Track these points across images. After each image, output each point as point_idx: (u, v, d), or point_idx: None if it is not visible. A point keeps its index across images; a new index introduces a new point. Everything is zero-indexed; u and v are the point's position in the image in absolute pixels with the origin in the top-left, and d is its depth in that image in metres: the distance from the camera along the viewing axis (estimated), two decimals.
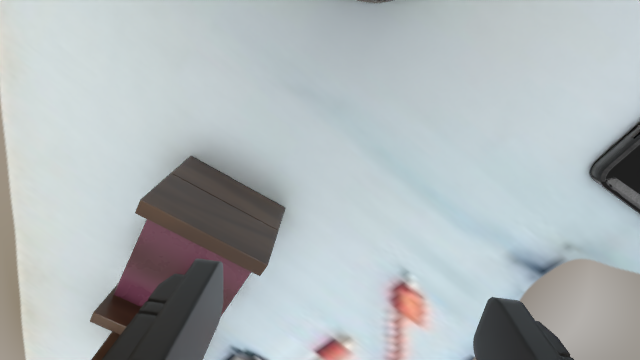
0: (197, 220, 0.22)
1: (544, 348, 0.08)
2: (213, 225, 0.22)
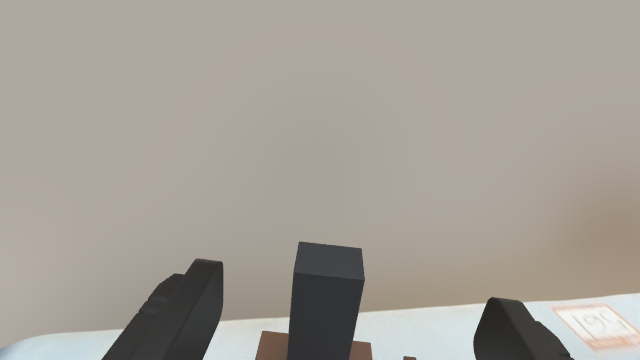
0: None
1: (544, 348, 0.08)
2: None
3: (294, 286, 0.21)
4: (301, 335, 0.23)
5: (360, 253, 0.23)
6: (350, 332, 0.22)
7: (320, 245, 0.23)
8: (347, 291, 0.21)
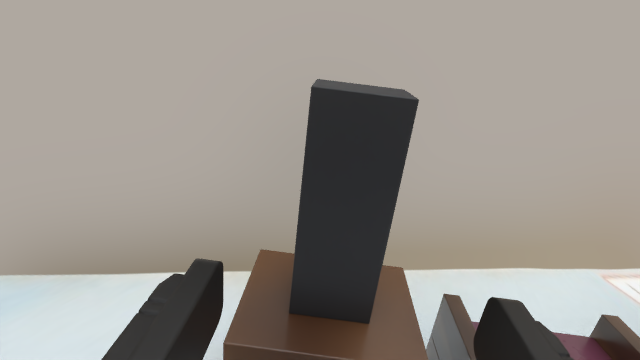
0: None
1: (544, 348, 0.08)
2: None
3: (312, 113, 0.14)
4: (317, 206, 0.16)
5: (405, 91, 0.16)
6: (390, 200, 0.15)
7: (347, 83, 0.16)
8: (390, 122, 0.14)
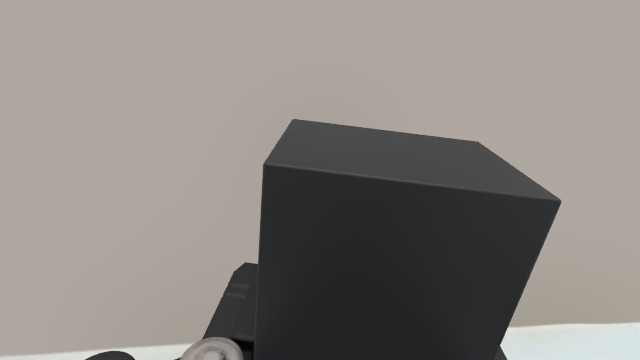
0: None
1: None
2: None
3: (269, 229, 0.05)
4: None
5: (484, 148, 0.07)
6: None
7: (356, 128, 0.08)
8: (477, 254, 0.05)
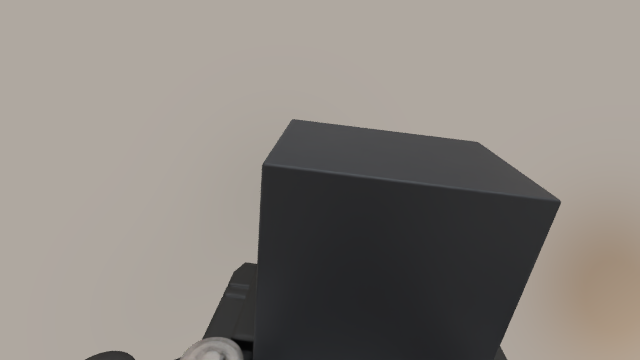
0: None
1: None
2: None
3: (268, 230, 0.05)
4: None
5: (484, 149, 0.07)
6: None
7: (356, 129, 0.08)
8: (476, 255, 0.05)
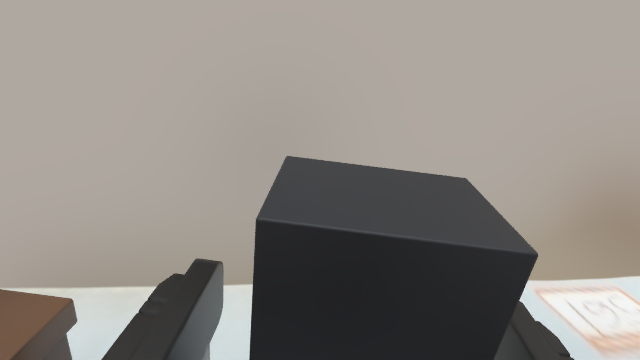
0: None
1: (544, 348, 0.08)
2: None
3: (262, 278, 0.06)
4: None
5: (471, 187, 0.08)
6: None
7: (348, 166, 0.08)
8: (459, 301, 0.06)
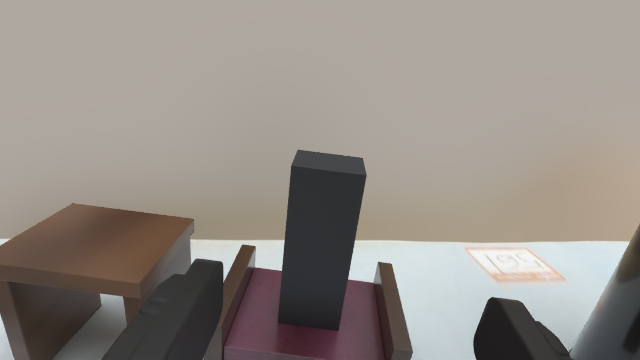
0: None
1: (544, 348, 0.08)
2: None
3: (292, 183, 0.20)
4: (297, 245, 0.21)
5: (361, 160, 0.22)
6: (350, 241, 0.21)
7: (320, 153, 0.22)
8: (347, 189, 0.20)
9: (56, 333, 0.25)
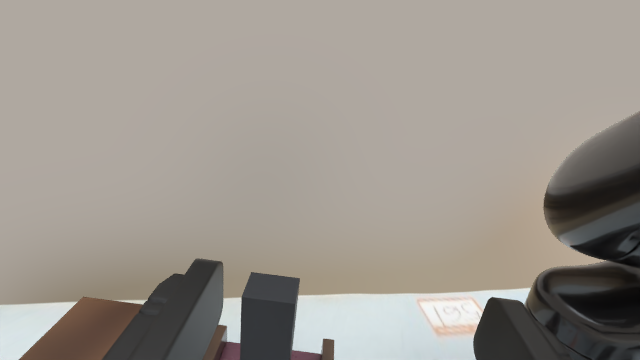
0: None
1: (544, 348, 0.08)
2: None
3: (243, 307, 0.27)
4: (249, 346, 0.29)
5: (297, 282, 0.29)
6: (288, 345, 0.29)
7: (267, 275, 0.30)
8: (282, 312, 0.27)
9: None
